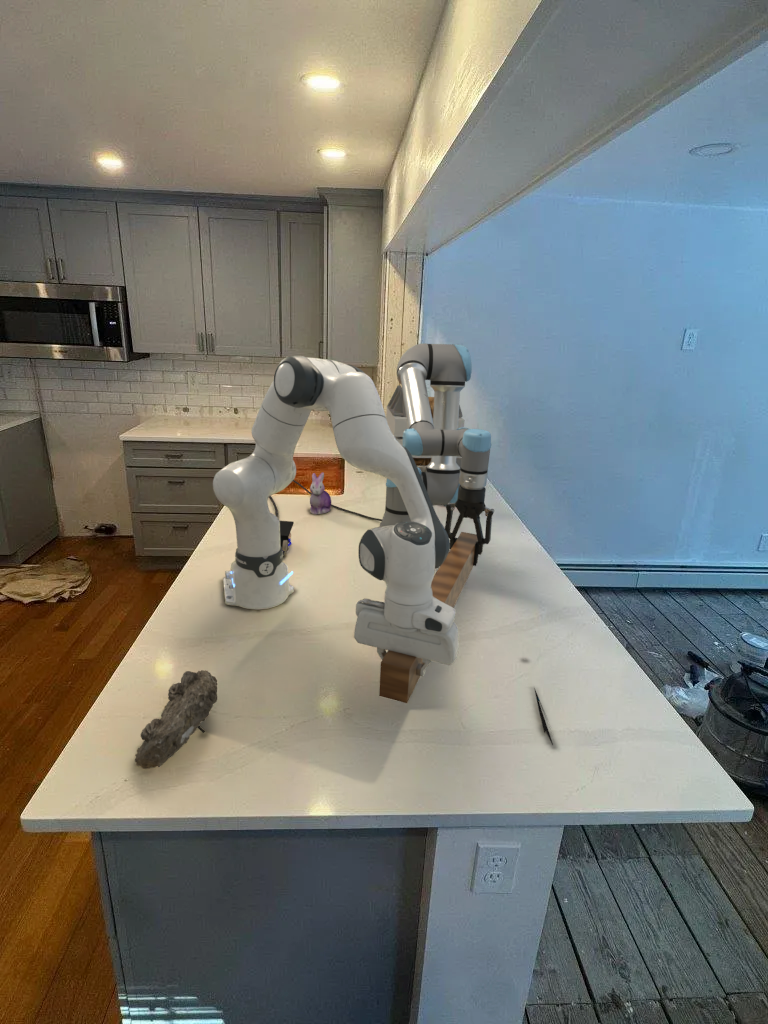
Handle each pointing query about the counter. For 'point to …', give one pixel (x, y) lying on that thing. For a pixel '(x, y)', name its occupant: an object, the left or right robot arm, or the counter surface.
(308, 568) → the counter surface
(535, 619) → the counter surface
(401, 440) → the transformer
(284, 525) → the figurine character
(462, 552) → the post
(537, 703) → the feather
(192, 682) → the fossil
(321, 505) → the figurine
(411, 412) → the right robot arm
